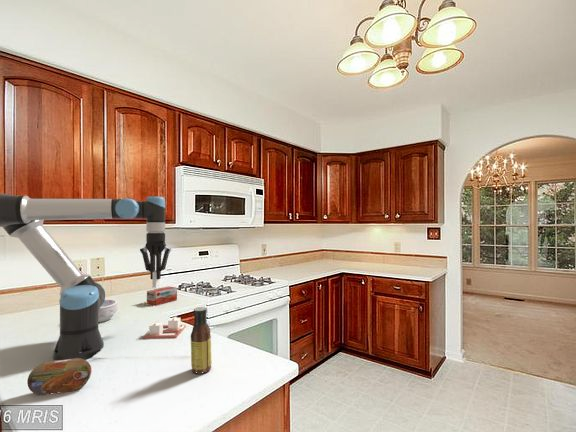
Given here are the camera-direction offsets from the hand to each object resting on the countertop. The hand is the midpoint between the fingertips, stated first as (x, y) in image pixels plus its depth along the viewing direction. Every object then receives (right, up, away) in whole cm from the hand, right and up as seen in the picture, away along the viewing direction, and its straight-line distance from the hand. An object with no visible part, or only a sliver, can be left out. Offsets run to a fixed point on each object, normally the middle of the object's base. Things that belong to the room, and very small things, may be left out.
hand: (155, 286), depth 136 cm
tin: (-7, -19, -47) cm, 51 cm away
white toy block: (+9, -18, -2) cm, 20 cm away
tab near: (+4, -18, -8) cm, 20 cm away
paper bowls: (-34, -20, +16) cm, 42 cm away
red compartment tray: (+6, -19, -5) cm, 21 cm away
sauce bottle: (+30, -19, -35) cm, 50 cm away
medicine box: (-17, -20, +49) cm, 55 cm away
